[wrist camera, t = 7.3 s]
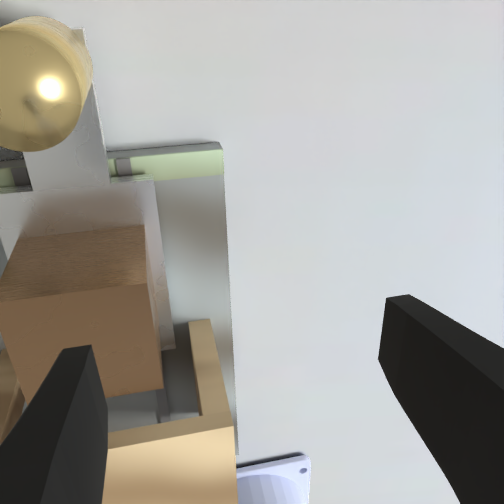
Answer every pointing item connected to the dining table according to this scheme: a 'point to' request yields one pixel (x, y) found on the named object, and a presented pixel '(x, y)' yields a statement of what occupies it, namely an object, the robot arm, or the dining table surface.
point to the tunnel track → (173, 360)
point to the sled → (74, 224)
